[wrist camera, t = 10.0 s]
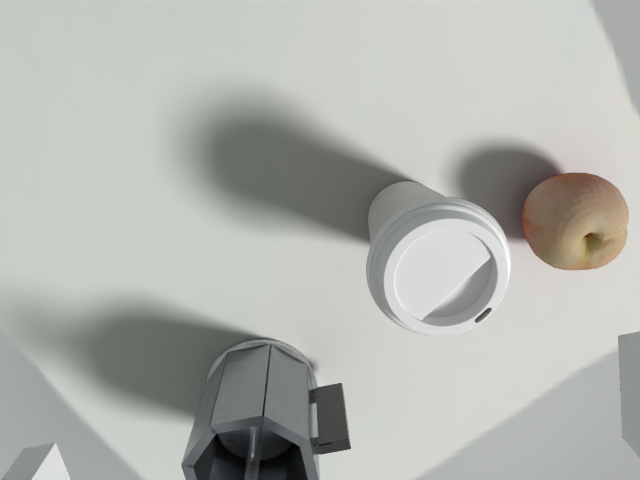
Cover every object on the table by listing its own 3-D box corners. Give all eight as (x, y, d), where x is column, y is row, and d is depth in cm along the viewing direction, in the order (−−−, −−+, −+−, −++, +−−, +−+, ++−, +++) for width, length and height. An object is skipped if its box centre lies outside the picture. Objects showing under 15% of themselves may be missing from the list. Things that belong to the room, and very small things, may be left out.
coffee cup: (374, 284, 52) (402, 369, 37) (333, 190, 49) (346, 242, 35) (473, 243, 51) (540, 314, 36) (437, 145, 48) (494, 179, 34)
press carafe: (193, 350, 53) (163, 429, 42) (330, 323, 53) (338, 396, 41) (221, 444, 56) (200, 542, 45) (350, 420, 56) (363, 512, 44)
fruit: (505, 254, 51) (540, 288, 44) (511, 166, 49) (550, 185, 41) (592, 251, 51) (643, 284, 44) (602, 163, 49) (658, 181, 41)
